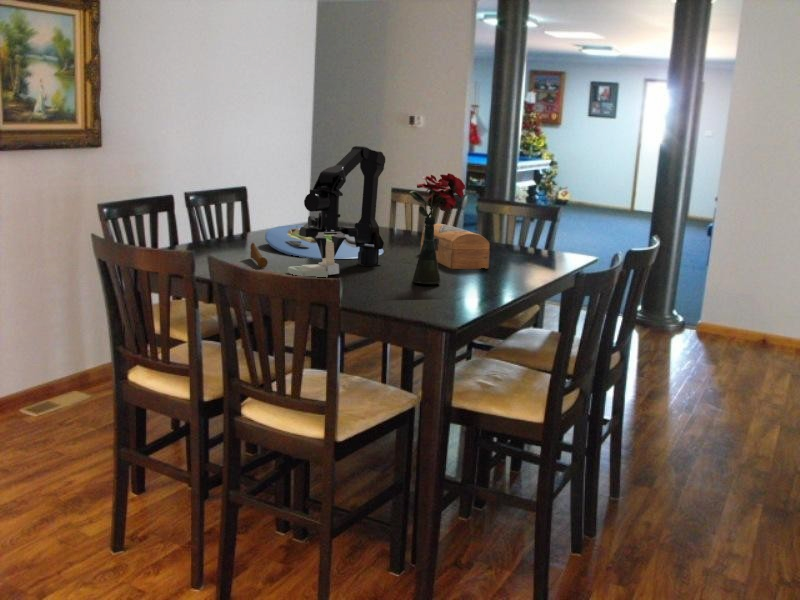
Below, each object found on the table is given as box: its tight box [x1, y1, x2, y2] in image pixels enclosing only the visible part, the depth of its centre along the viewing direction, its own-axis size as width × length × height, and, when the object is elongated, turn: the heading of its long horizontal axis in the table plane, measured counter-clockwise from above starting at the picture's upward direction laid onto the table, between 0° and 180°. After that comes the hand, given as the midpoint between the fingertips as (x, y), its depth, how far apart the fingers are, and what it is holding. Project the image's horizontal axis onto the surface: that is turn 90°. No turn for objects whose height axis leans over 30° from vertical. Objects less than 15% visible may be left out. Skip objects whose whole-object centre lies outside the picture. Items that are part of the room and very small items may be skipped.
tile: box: [301, 263, 327, 272], centre depth 265 cm, size 6×6×3 cm
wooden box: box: [419, 223, 491, 270], centre depth 304 cm, size 30×16×14 cm, turn 19°
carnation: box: [408, 173, 466, 286], centre depth 262 cm, size 16×18×35 cm
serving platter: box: [264, 223, 385, 260], centre depth 314 cm, size 45×43×12 cm
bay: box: [287, 265, 329, 278], centre depth 264 cm, size 9×11×2 cm
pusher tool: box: [318, 241, 340, 276], centre depth 266 cm, size 4×7×10 cm, turn 31°
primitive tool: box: [250, 242, 269, 269], centre depth 279 cm, size 19×6×4 cm
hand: (327, 258), depth 266 cm, fingers closed on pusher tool, 3 cm apart
